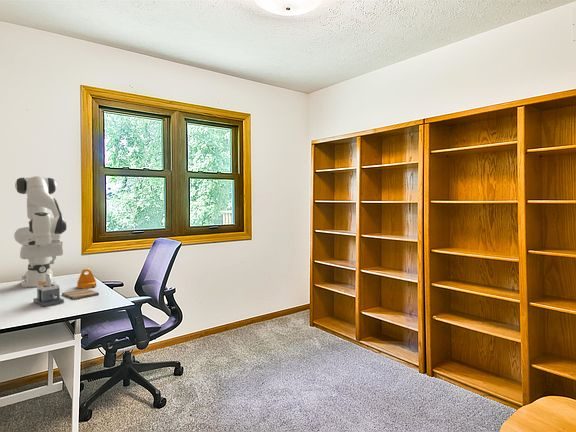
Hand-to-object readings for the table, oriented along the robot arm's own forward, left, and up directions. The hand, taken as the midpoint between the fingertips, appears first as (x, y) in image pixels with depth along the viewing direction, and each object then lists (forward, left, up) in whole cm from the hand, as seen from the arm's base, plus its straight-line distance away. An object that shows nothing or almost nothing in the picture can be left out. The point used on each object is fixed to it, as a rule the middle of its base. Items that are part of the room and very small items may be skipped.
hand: (42, 265), depth 200 cm
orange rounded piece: (-12, +29, -20) cm, 38 cm away
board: (+5, +18, -20) cm, 27 cm away
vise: (+9, 0, -20) cm, 22 cm away
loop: (+4, 0, -12) cm, 13 cm away
